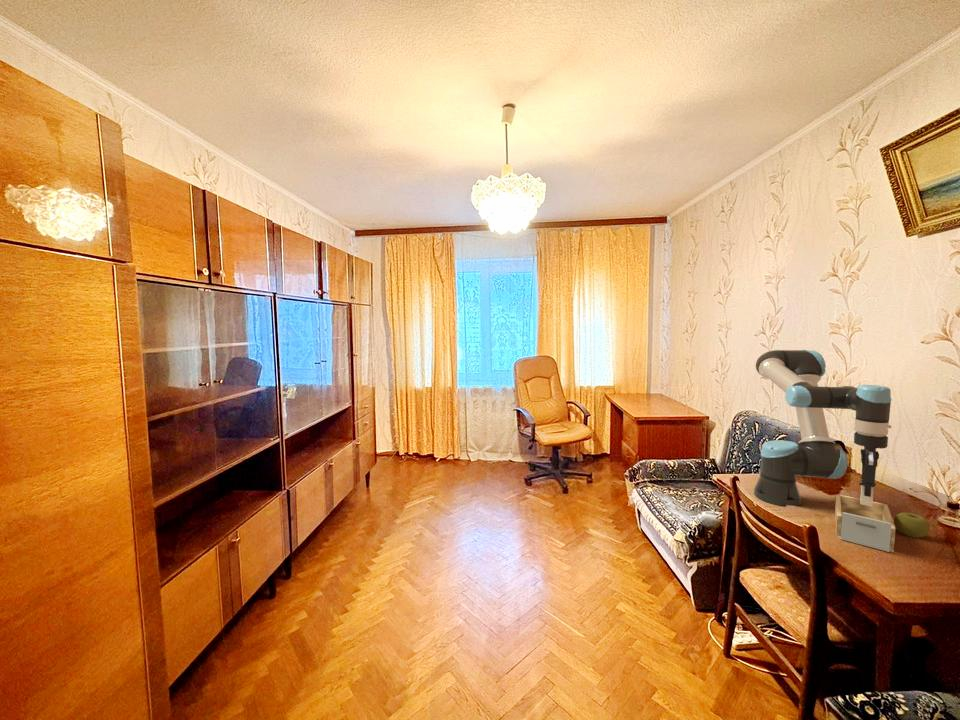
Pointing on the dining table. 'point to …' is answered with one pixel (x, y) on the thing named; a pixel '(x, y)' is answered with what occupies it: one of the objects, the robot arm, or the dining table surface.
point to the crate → (862, 513)
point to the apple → (911, 525)
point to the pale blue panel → (866, 531)
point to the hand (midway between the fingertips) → (866, 504)
